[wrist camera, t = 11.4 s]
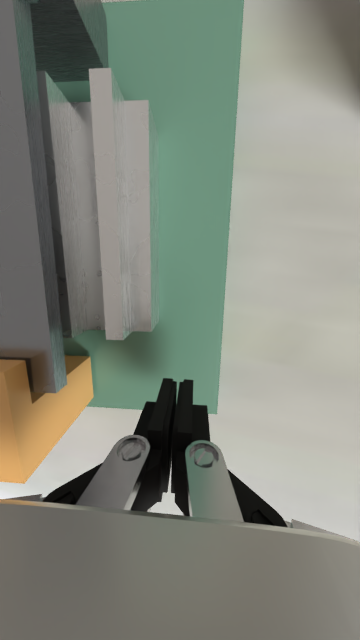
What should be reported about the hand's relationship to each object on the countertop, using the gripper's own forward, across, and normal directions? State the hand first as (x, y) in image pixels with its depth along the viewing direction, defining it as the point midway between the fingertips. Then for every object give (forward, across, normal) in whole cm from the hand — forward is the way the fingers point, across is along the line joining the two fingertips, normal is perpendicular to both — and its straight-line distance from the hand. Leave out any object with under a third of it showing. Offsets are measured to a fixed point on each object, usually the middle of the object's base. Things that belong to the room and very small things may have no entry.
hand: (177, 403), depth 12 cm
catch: (+3, +8, -1) cm, 8 cm away
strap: (-1, +7, -9) cm, 11 cm away
